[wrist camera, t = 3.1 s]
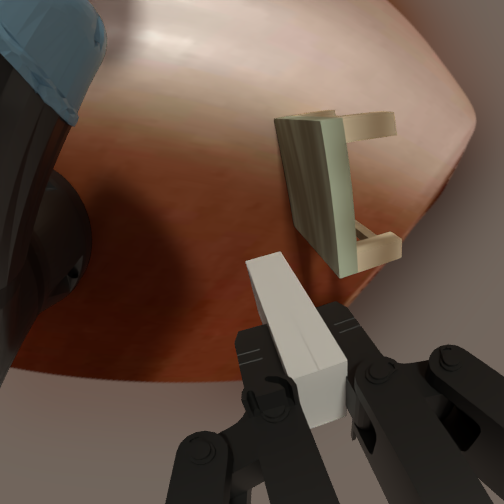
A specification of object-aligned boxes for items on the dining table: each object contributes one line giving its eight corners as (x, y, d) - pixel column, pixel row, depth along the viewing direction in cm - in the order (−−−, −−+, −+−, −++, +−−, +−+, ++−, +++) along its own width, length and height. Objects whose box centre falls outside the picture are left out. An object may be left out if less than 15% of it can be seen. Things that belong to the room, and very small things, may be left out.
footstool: (294, 226, 31) (339, 278, 22) (273, 118, 27) (320, 121, 17) (342, 213, 32) (401, 257, 22) (327, 109, 27) (394, 112, 17)
